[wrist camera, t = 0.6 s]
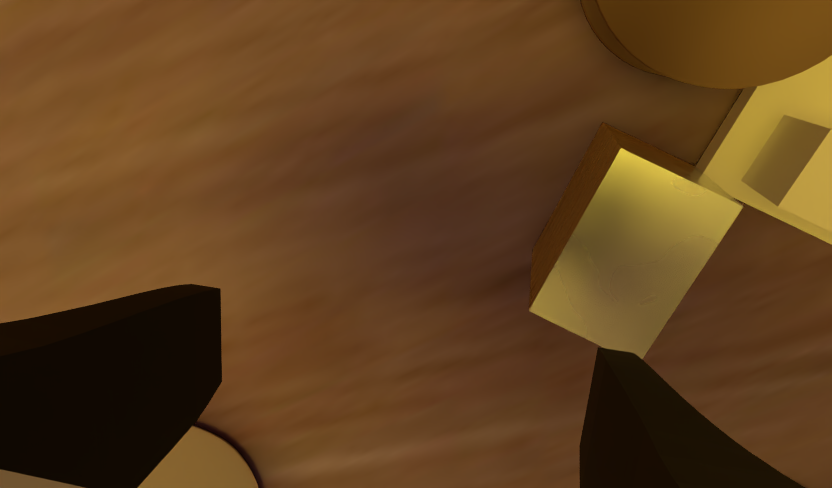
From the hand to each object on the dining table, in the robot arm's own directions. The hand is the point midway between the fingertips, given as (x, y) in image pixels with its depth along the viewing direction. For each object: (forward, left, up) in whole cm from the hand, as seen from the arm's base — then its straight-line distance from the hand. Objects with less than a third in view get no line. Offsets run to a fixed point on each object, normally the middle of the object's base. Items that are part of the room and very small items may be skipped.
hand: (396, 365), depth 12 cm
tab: (-4, -3, -10) cm, 11 cm away
